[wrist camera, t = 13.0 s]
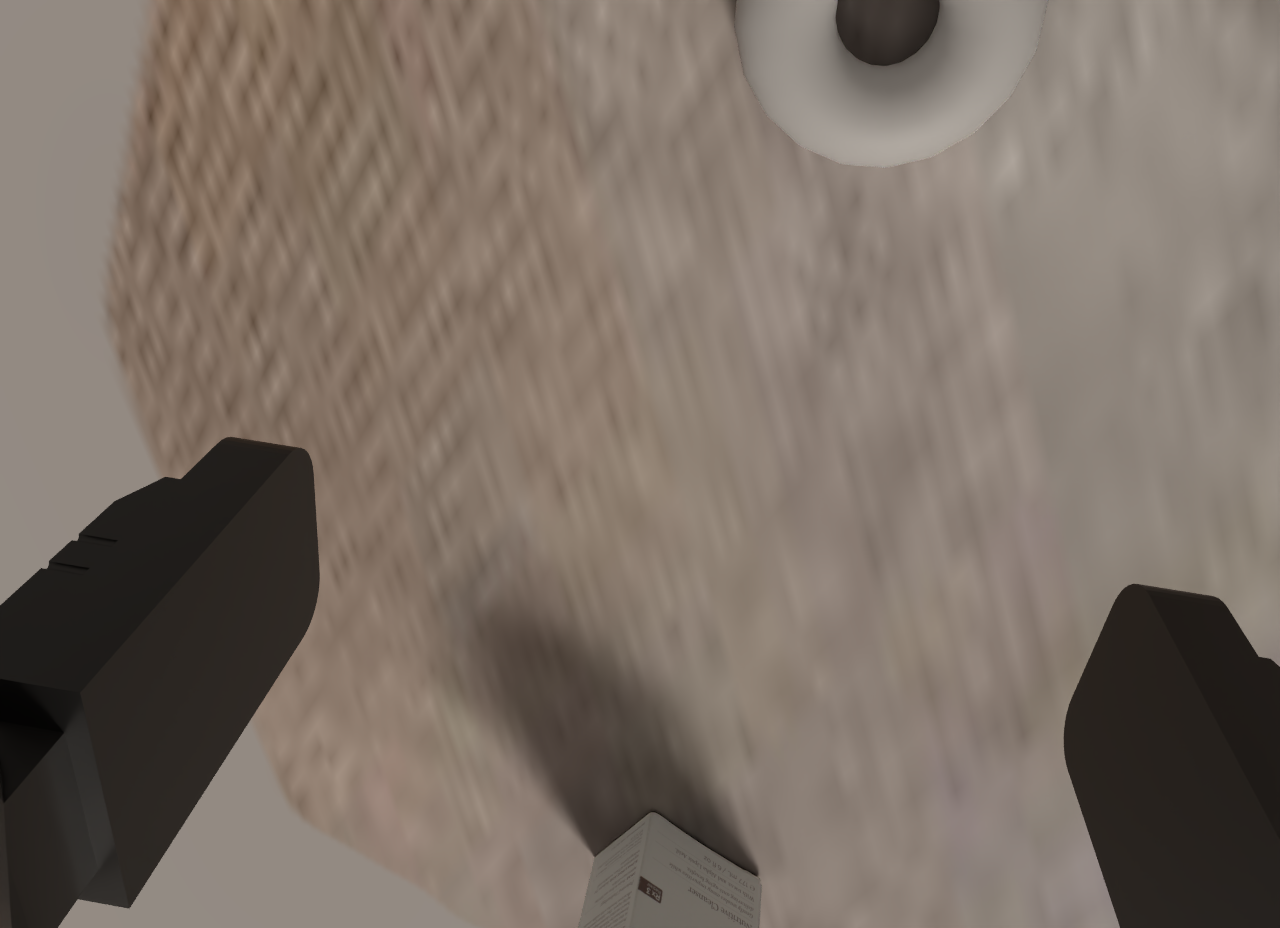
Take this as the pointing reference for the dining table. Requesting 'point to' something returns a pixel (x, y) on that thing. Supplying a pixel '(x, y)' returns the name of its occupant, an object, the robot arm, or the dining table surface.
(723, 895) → the skincare box
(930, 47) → the donut
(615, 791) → the dining table surface
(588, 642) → the dining table surface
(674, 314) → the dining table surface
